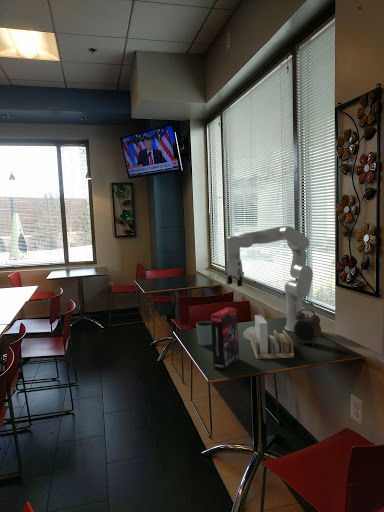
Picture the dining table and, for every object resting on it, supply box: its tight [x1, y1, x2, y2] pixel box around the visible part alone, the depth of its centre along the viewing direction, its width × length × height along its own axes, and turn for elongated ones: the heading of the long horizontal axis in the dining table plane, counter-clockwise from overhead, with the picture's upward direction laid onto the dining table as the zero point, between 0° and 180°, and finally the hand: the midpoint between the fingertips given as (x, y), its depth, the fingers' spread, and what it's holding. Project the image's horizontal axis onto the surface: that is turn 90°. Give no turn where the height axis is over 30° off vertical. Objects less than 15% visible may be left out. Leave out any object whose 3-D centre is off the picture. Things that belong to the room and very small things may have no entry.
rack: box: [250, 329, 295, 360], centre depth 201 cm, size 19×22×8 cm
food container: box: [242, 325, 270, 341], centre depth 225 cm, size 16×25×7 cm, turn 20°
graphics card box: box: [210, 307, 240, 371], centre depth 184 cm, size 17×7×27 cm, turn 148°
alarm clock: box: [294, 308, 322, 347], centre depth 208 cm, size 15×7×20 cm, turn 47°
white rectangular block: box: [254, 314, 269, 354], centre depth 200 cm, size 4×16×18 cm, turn 179°
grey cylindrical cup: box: [195, 320, 212, 346], centre depth 217 cm, size 10×10×12 cm
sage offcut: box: [269, 334, 279, 354], centre depth 201 cm, size 2×16×6 cm, turn 0°
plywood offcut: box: [277, 333, 289, 353], centre depth 201 cm, size 2×15×7 cm, turn 179°
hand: (234, 284), depth 221 cm, fingers open, 9 cm apart
